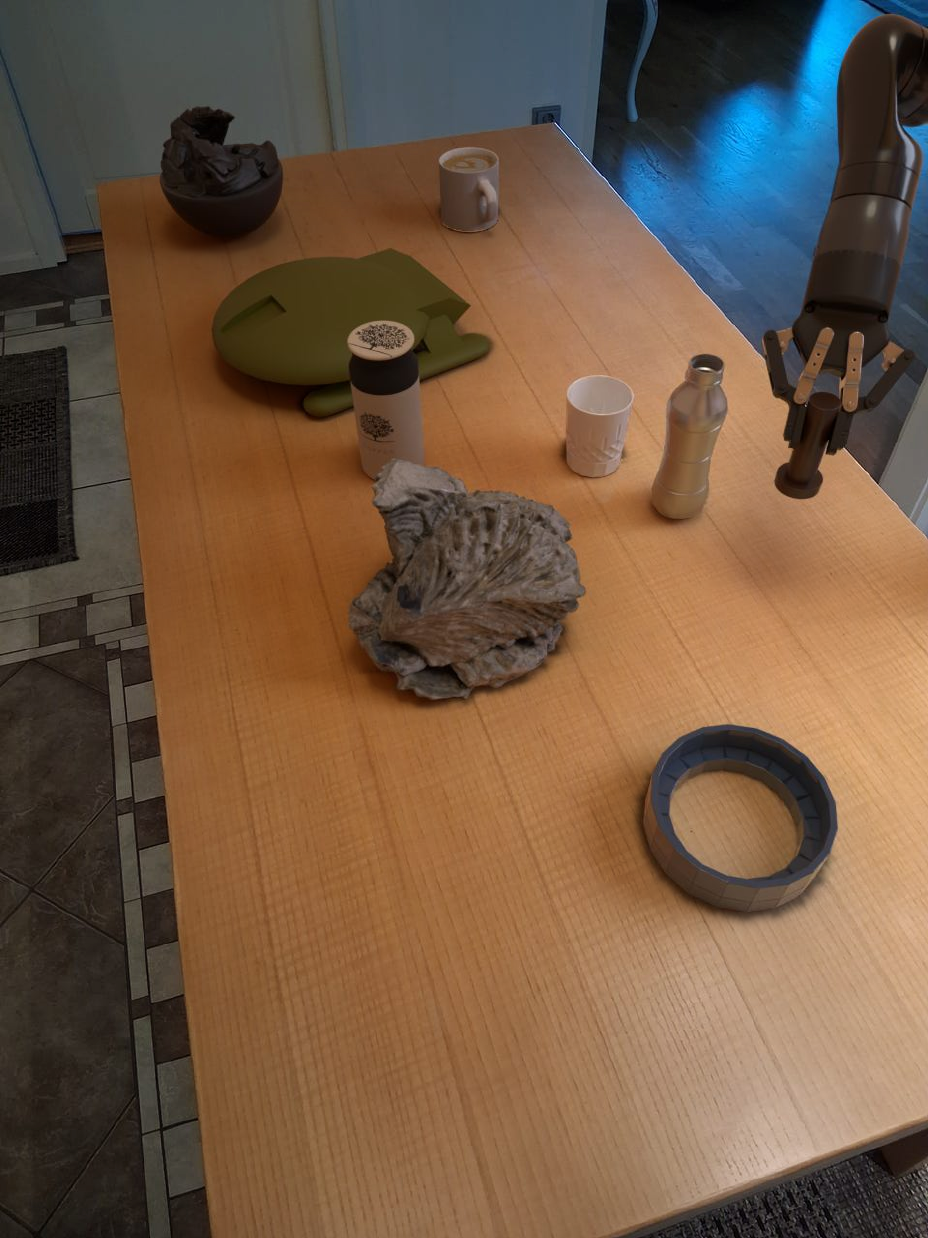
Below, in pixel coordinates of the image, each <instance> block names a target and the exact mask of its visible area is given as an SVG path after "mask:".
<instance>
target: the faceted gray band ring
mask: <svg viewBox="0 0 928 1238" xmlns="http://www.w3.org/2000/svg"><path fill="white" fill-rule="evenodd" d="M721 771H722V772H728V773H735V774H741V775H744V776H746V777H749V778H751V779H753V780H756V781H758V782H760V783H761V784H763V785H764V786H766V787H767V788H768V789H770V790H771V791H772V792H773V793H775V794H776V795H777V796H778V797H779V799H780V800H781V801H782V802H783V804H784V805H785V806H786V807H787V809H788V810H789V812H790V814H791V817H792V820H793V822H794V825H795V827H796V836H797V837H796V839H797V848H796V851H795V854H794V856H793V858H792V860H791V861H790V862H789V863H788V864H787V865H786V867H784V868H782V869H780V870H778V871H776V872H773V873H772V874H770V875H767V876H759V877H751V878H744V877H739V876H731V875H726V874H724V873H723V872H720V871H718V870H716V869H714V868H713V867H710V866H707V865H705V864H703V863H702V862H701V861H699V860H698V859H697V858H696V857H695V856H693V854H691V853H690V852H689V851H688V850H687V848H686V847H685V846H684V845H683V843H682V841H681V840H680V839H679V837H678V836H677V834H676V831H675V828H674V825H673V822H672V818H671V800H672V799H673V796H674V793H675V792H676V791H677V790H679V788H680V787H681V786H682V785H684V783H685V782H687V781H688V780H690V779H692V778H694V777H697V776H700V775H701V774H704V773H713V772H721ZM643 806H644V808H643V821H642V822H643V825H642V826H643V829H644V832H645V836H646V840H647V844H648V847H649V850H650V852H651V854H652V855H653V857H654V858H655V860H656V861H657V863H658V865H659V866H660V868H661V869H662V871H663V872H664V874H665V875H666V876H668V877H669V878H670V879H671V880H672V881H673V882H674V883H675V884H676V885H678V886H679V887H680V888H681V889H682V890H684V891H685V892H686V893H687V894H689V895H690V896H693V897H695V898H697V899H699V900H700V901H703V902H705V903H707V904H709V905H711V906H713V907H716V908H721V909H724V910H725V909H726V910H731V911H737V912H743V913H752V912H758V911H767V910H773V909H776V908H778V907H781V906H782V905H784V904H786V903H788V902H790V901H792V900H795V899H796V898H798V897H799V896H800V895H801V894H802V893H803V891H804V890H805V889H806V888H807V887H808V886H809V885H810V884H811V882H812V881H813V880H814V879H815V878H816V876H817V874H818V873H819V871H820V870H821V868H822V867H823V865H824V864H825V863H826V860H827V859H828V858H829V856H830V854H831V853H832V850H833V846H834V843H835V840H836V836H837V833H838V830H839V823H838V811H837V802H836V800H835V798H834V795H833V792H832V791H831V788H830V786H829V784H828V782H827V779H826V777H825V776H824V775H823V774H822V772H821V771H820V769H818V768H817V766H816V765H815V764H814V763H813V762H812V760H811V759H810V758H809V756H807V755H806V754H805V753H804V752H802V751H800V750H799V749H798V748H796V747H795V746H794V745H792V744H791V743H789V742H788V741H787V740H785V739H784V738H781V737H779V736H776V735H774V734H772V733H770V732H767V731H765V730H762V729H759V728H756V727H751V726H744V725H738V724H737V725H736V724H731V723H728V724H727V723H726V724H718V725H710V726H709V725H708V726H702V727H699V728H697V729H695V730H692V731H690V732H688V733H685V734H684V735H681V736H679V737H678V738H676V740H675V741H673V742H672V743H671V744H670V745H669V746H668V747H667V748H666V749H665V750H664V751H662V753H661V755H660V757H659V760H658V761H657V763H656V765H655V767H654V769H653V772H652V774H651V777H650V781H649V785H648V787H647V792H646V796H645V800H644V805H643Z"/></svg>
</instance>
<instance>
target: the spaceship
mask: <svg viewBox="0 0 928 1238" xmlns="http://www.w3.org/2000/svg"><path fill="white" fill-rule="evenodd" d="M470 307H472V305H471V304H470V303H469V302H468V301H466V300H465V299H464V298H463V297H461V296H460V295H459V294H458V293H457V292H455V291H454V290H453V289H451V288H450V287H449V286H448V285H447V284H445V283H444V282H443V281H442V280H441V279H439V278H438V277H437V276H436V275H435V274H434V273H432V272H431V271H430V270H428V269H427V268H426V267H424V266H423V265H422V264H421V263H420V262H419V261H417V260H416V259H415V258H414V257H412V256H411V255H408V254H406V253H403V252H402V251H399V250H397V249H395V248H391V247H390V248H386V249H383V250H381V251H377V252H374V253H370V254H368V255H365V256H362V257H359V258H355V257H347V256H321V257H320V256H319V257H309V258H302V259H297V260H293V261H287V262H284V263H281V264H280V263H279V264H277V265H274V266H272V267H269V268H266V269H264V270H261V271H259V272H258V273H256V274H254V275H252V276H250V277H248V278H247V279H245V280H244V281H243V282H241V283H240V284H239V285H237V286H236V287H234V288H233V289H232V290H231V291H230V293H228V295H226V297H224V298H223V300H222V301H221V302H220V304H219V306H218V307H217V309H216V311H215V313H214V317H213V320H212V325H211V329H210V330H211V335H212V342H213V345H214V347H215V349H216V350H217V352H218V354H219V356H220V357H221V358H222V360H223V359H224V361H226V362H227V363H228V364H229V365H230V366H231V367H233V368H234V369H236V370H237V371H240V372H241V373H243V374H245V375H248V376H251V377H254V378H256V379H259V380H261V381H266V382H273V383H276V384H277V383H278V384H283V385H296V386H297V385H298V386H301V385H302V386H314V385H326V386H323V387H320V388H318V389H315V390H313V391H310V392H309V393H308V394H307V395H306V396H305V397H304V398H303V402H302V404H303V408H304V411H306V412H307V413H308V414H309V415H311V416H314V417H317V418H325V417H329V416H332V415H334V414H336V413H340V412H342V411H344V410H346V409H347V410H348V409H350V408H353V407H354V404H353V397H352V389H351V382H350V375H349V367H348V365H349V361H350V359H351V357H352V352H351V351H350V349H349V347H348V344H347V340H348V337H349V335H350V333H351V332H352V331H353V330H354V329H356V328H357V327H359V326H361V325H363V324H366V323H369V322H374V321H393V322H397V323H400V324H403V325H405V326H407V327H408V328H409V329H410V330H411V331H412V333H413V335H414V343H413V346H412V351H413V350H414V349H416V348H417V346H418V345H419V344H420V343H421V344H422V345H423V347H424V349H422V350H420V351H417V352H414V354H415V355H416V357H417V359H418V368H419V382H420V381H422V380H425V379H428V378H431V377H433V376H436V375H438V374H441V373H443V372H446V371H448V370H451V369H453V368H457V367H459V366H461V365H464V364H466V363H467V364H468V363H469V362H471V361H474V360H476V359H479V358H482V357H483V356H486V355H487V354H488V352H489V351H490V350H491V349H490V348H491V343H490V341H489V339H488V338H487V337H486V336H485V335H482V334H480V333H474V332H473V333H472V332H471V333H466V334H463V335H461V336H460V335H459V333H458V331H457V330H456V328H455V324H456V323H457V322H458V321H459V320H460V318H462V316H463V315H464V314H465V313H466V312H467V311H468V309H470Z"/></svg>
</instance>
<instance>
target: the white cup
mask: <svg viewBox="0 0 928 1238" xmlns="http://www.w3.org/2000/svg"><path fill="white" fill-rule="evenodd" d="M632 389H633V388H631V386H630V385H629V384H628V383H626V382H625V381H623V380H622V379H619V378H616V377H614V376H610V375H604V374H603V375H601V374H595V375H594V374H593V375H587V376H586V375H585V376H582V377H580V378H578V379H576V380H574V381H573V382H571V384H570V385H569V386H568V388H567V390H566V402H565V403H566V404H565V405H566V407H565V445H566V455H565V456H566V464H567V466H568V467H569V468H570V470H571V471H572V472H574V473H576V474H578V475H580V476H582V477H588V478H600V477H606V476H608V475H610V474H612V473H614V472H615V471H616V470H617V469H618V467H619V466H620V464H621V459H622V453H623V449H624V446H625V444H626V443H625V442H626V437H627V434H628V430H629V426H630V425H629V424H630V420H631V415H632V411H633V410H632V409H633V404H634V400H635V394H634V390H632Z"/></svg>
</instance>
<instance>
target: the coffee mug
mask: <svg viewBox="0 0 928 1238" xmlns="http://www.w3.org/2000/svg"><path fill="white" fill-rule="evenodd" d="M499 172H500V159H499V156H498V155H497V154H496V153H495V152H494V151H492V150H491V149H486V148H482V147H475V146H467V147H458V148H454V149H450V150H448V151H446V152H444V153H442V154H441V156H440V157H439V159H438V173H439V176H438V177H439V195H440V196H439V200H440V221H441V220H442V222H443V223H444V224H445V225H446V226H448V227H450V228H452V229H456V230H461V231H475V230H481V229H485V228H488V227H490V226H492V225H494V224H495V223H496V222H497V220H498V221H499V197H500V196H499V195H500V193H499V187H500V185H499V184H500V177H499V176H500V173H499ZM442 222H441V223H442ZM497 223H498V222H497Z"/></svg>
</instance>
